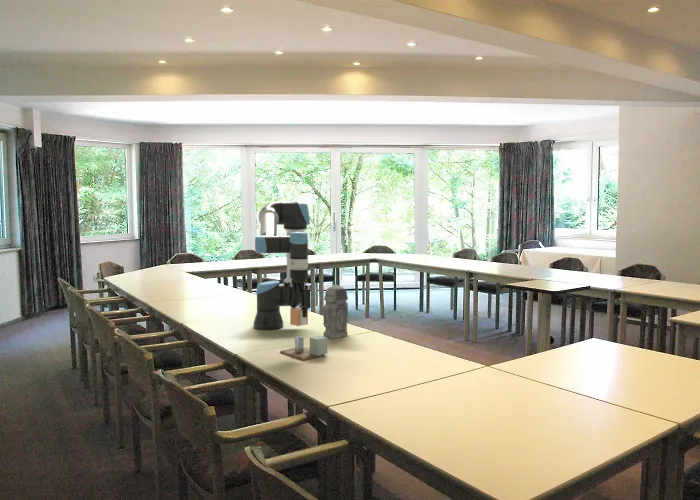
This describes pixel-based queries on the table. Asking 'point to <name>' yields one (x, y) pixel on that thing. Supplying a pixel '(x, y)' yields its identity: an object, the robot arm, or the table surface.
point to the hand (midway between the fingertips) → (299, 323)
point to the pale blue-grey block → (318, 345)
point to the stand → (300, 354)
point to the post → (299, 344)
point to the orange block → (296, 316)
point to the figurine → (335, 312)
